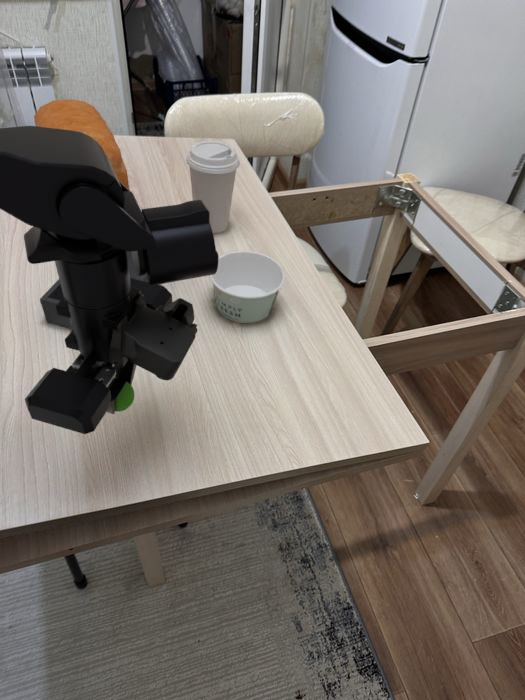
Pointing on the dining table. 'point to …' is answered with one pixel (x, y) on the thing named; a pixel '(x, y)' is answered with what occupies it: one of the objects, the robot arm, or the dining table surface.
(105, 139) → the bread
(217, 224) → the coffee cup
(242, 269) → the food container
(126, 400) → the pea
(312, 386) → the dining table surface
